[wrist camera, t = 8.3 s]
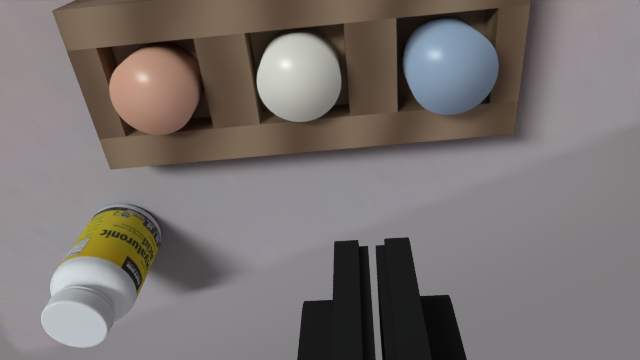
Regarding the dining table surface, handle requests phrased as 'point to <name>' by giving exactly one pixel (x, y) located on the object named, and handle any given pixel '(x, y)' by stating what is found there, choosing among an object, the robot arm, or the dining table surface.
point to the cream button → (299, 75)
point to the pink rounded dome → (157, 88)
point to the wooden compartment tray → (244, 60)
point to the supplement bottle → (101, 275)
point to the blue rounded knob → (449, 65)
